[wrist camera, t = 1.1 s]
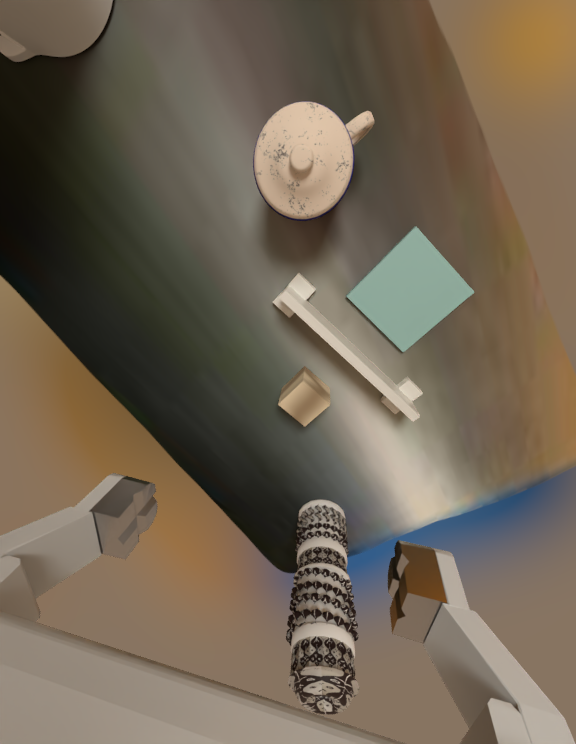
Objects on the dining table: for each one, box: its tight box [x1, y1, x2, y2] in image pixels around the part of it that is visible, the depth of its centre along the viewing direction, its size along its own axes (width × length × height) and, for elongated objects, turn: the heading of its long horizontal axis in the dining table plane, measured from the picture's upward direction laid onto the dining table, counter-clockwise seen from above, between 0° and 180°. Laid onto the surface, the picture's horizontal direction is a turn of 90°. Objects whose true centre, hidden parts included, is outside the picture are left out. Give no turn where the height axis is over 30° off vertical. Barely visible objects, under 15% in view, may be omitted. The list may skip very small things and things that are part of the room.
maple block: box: [278, 367, 330, 426], centre depth 45 cm, size 5×5×5 cm
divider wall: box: [273, 273, 423, 421], centre depth 42 cm, size 24×5×5 cm, turn 48°
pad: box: [346, 226, 474, 352], centre depth 40 cm, size 11×11×1 cm
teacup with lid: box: [253, 101, 374, 221], centre depth 31 cm, size 12×9×12 cm
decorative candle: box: [286, 499, 359, 714], centre depth 46 cm, size 9×9×25 cm
